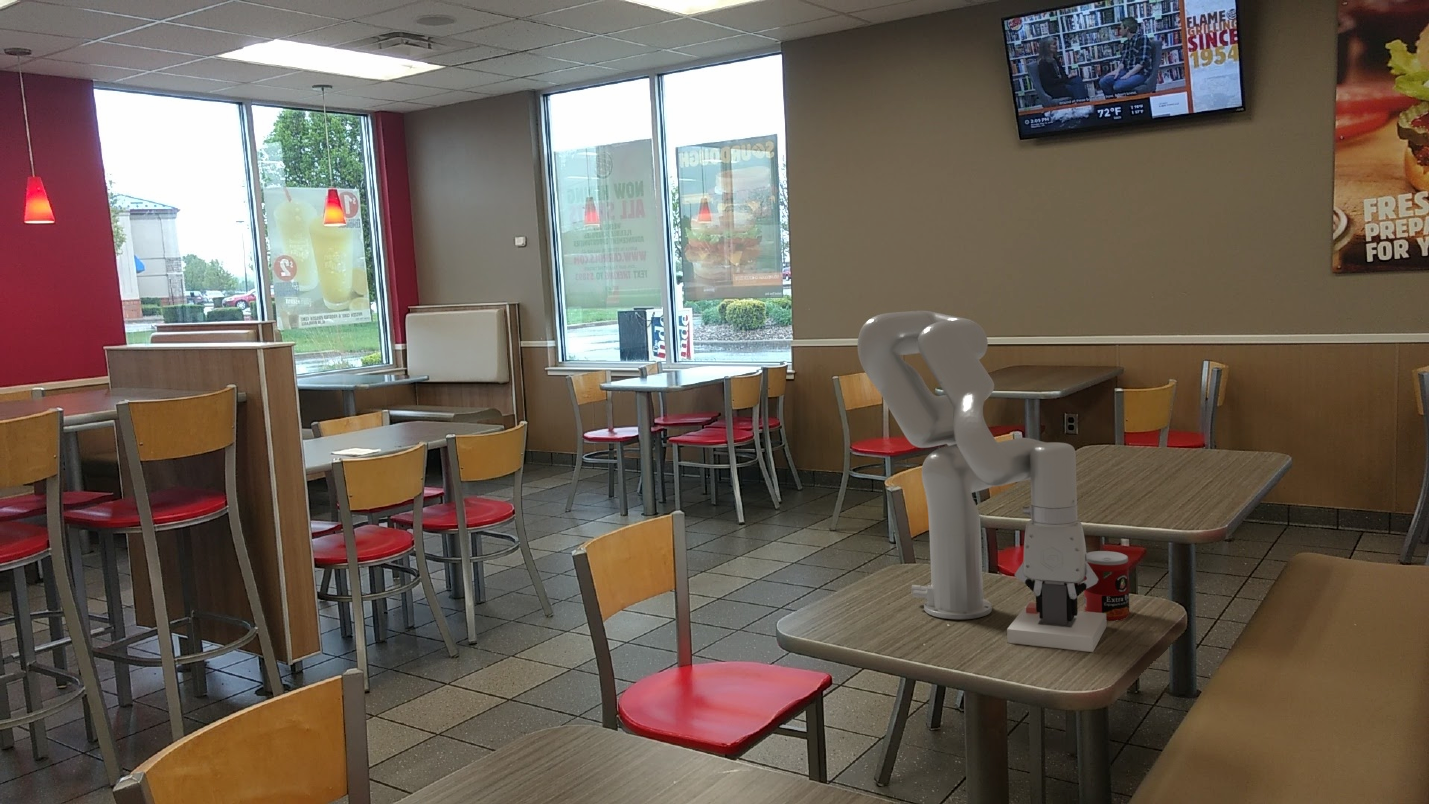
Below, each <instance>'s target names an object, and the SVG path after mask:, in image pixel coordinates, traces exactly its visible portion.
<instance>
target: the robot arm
mask: <svg viewBox="0 0 1429 804" xmlns="http://www.w3.org/2000/svg"><path fill="white" fill-rule="evenodd" d="M988 343H989V342H988V337H987V334H986V331H985V330H984V328H983V327H982V326H981V325H980V324H979V323H978V322H976V321H974V320H972V319H969V318H964V317H959V316H956V315H950V314H949V315H948V314H946V313H945V314H944V313H940V312H934V311H930V310H912V311H911V310H909V311H896V312H885V313H881V314H877V315H875V316H872V317H871V318H869V319H868V320H866V322H865V323H863V325H862V327H861V328H860V330H859V334H858V338H857V354H858V359H859V362H860V365H861V367H862V370H863V371H864V373H865V374H866V376H867V378H868V379H869V380H870V382H871V383H872V384H873V386H874V387H875V388H876V389H877V391H878V393H879V394H880V396H881V397H882V399H883V401H884V402H885V405H886V406H887V408H888V409H889V411H890V413H891V414H892V416H893V418H894V419H895V422H896V423H897V425H898V426H899V428H900V430H901V432H902V433H903V434H904V436H905V438H906V440H907V441H908V442H909V443H910V444H911V445H912V446H914V447H916V448H920V449H924V448H925V449H926V448H933V447H937V446H942V447H939V448H937V449H935V450H933V451H932V452H930V453H929V454H928V455H927V456H926V458H925V459H924V461H923V463H922V466H921V481H922V485H923V488H924V489H923V490H924V494H925V499H926V504H927V505H926V506H927V515H928V531H929V532H928V533H929V551H930V552H929V553H930V554H929V556H930V557H929V558H930V579H931V580H930V581H931V582H930V583H931V584H927V586H926V585H919V584H912V585H911V587H910V588H911V589H910V591H911V592H910V593H911V595H913V597H914V598H917V599H918V598H919V599H921V598H923V599H925V601H924V604H923V610H924V611H925V612H926V614H928V615H930V616H933V617H935V618H939V619H948V620H971V619H972V620H973V619H979V618H982V617H986V616H988V615H989V614H990V613H991V612H992V610H993V604H992V603H991V602H990V601H989V600H987V599H986V598H984V590H983V589H984V587H983V586H984V585H983V558H982V557H983V556H982V532H981V531H982V530H981V529H982V528H981V517H980V516H981V515H980V513H979V508H978V506H977V504H976V502H975V500H974V498H973V494H974V493H976V492H980V491H983V490H987V489H989V488H993V487H1002V486H1006V485H1010V484H1013V483H1020V482H1023V481H1027V480H1030V501H1031V503H1030V505H1028V506H1023V507H1022V514H1023V515H1027V516H1029V517H1030V520H1028V521H1027V522H1026V525H1025V531H1024V543H1023V559H1022V560H1023V561H1022V562H1021V564H1020V566H1019V567H1018V569H1017V570H1016V572H1014V577H1015V578H1016V579H1018V580H1019V581H1020V582H1022V583H1024V584H1025V585H1026V586H1027V588H1028V589H1029V590H1030V591H1032V593H1033V595H1034V596H1035V603H1036V612H1039V617H1040V619H1043V609H1042V583H1043V582H1044V581H1050V582H1063V583H1067V587H1068V592H1069V594H1068V599H1067V620H1068V621H1072V620H1073V618H1074V616H1077V613H1078V611H1079V610H1078V597H1079V596H1080V595H1081V594H1082V593H1084V590H1085V589H1087V588H1089V587H1091V586H1093V585H1095V584H1096V583H1097V582H1098V577H1097V576H1096V575H1095V573H1094V572H1093V570H1092V569H1091V567H1090V566H1089V564H1088V563H1087V554H1086V553H1087V547H1086V546H1087V545H1086V540H1085V534H1084V529H1083V525H1082V522H1081V521H1079V520H1078V489H1077V488H1078V487H1077V456H1076V449H1075V447H1074V446H1073V445H1071V444H1069V443H1066V442H1058V441H1057V442H1054V441H1053V442H1052V441H1051V442H1046V441H1041V440H1038V439H1034V438H1030V437H1018V438H1013V439H1007V440H1002V441H997V440H996V438H995V437H994V434H993V433H992V432H991V430H990V429H989V427H988V425H987V423H986V420H985V417H984V410H983V408H984V404H985V401H986V400H988V398H989V397H990V396H991V395H992V394H993V392H994V389H995V382H994V381H993V378H992V377H991V376H990V374H989V373H988V371H987V370H986V368H985V367H984V365H983V364H982V362H981V361H980V360H981V359H982V358H983V357H984V356H985V355H986V352H987V350H988ZM914 354H916V355H917V354H920V356H921V357H922V360H923V361H924V362H925V364H926V366H927V367H928V369H929V370H930V372H931V373H932V375H933V377H934V378H935V380H936V382H938V384H939V386H940V388H941V389H942V391H943V392H944V394H945V395H944V394H943V395H935V394H933V392H932V391H931V390H930V389H929V387H928V386H927V385H926V382H925V381H924V379H923V377H922V376H921V374H920V373H919V372H918V371H917V370H916V369H915V368H914V367H913V366H912V365H911V364H909V363H908V362H906V361H905V360H904V359H903V358H902V356H904V355H906V356H908V355H914ZM943 445H946V446H943ZM972 493H973V494H972ZM1085 576H1086V577H1087V580H1085V581H1084V577H1085ZM1078 583H1079V584H1078Z"/></svg>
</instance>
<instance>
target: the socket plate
mask: <svg viewBox="0 0 1429 804" xmlns="http://www.w3.org/2000/svg"><path fill="white" fill-rule="evenodd" d="M1106 628H1107V621H1106V613H1097V612H1086V611H1085V610H1084V611H1083V610H1078V613H1077V616H1074V618H1073V620H1072V621H1070V622H1069V623H1068V625H1067V626H1064V625H1054V624H1044V623H1043V619H1040V617H1039V612H1036V602H1029V603H1028V605H1025V606H1024V607H1023V609H1021V611H1020V612H1019V614H1018V615H1017V616H1016V617H1015V619H1013V621H1012V622H1011V623H1010V625H1008V627H1007V628H1006V634H1007V635H1006V636H1007V638H1006V639H1007V642H1006V643H1007V644H1008V643H1009V644H1018V645H1024V646H1025V645H1027V646H1028V645H1029V646H1033V647H1035V646H1036V647H1045V648H1053V649H1060V650H1061V649H1062V650H1063V649H1064V650H1070V651H1071V650H1073V651H1081V652H1090V653H1093V652H1094V650H1095V649H1096V647H1097V645H1098V644H1099V641H1100V640H1101V637H1102V636H1103V634H1104V632H1105V630H1106Z"/></svg>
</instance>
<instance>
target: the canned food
mask: <svg viewBox="0 0 1429 804" xmlns="http://www.w3.org/2000/svg"><path fill="white" fill-rule="evenodd" d="M1086 554H1087V563H1088V564H1089V566H1090V567H1091V569H1092V570H1093V572H1094V573H1095V575H1096V576H1097V577H1098V582H1097V583H1096V584H1095V585H1093V586H1091V587H1089V588H1087V589H1085V590H1084V591H1083V593H1084V594H1083V595H1084V598H1083V600H1084V611H1086V612H1097V613H1106V620H1107V621H1108V622H1114V621H1115V622H1116V620H1118V621H1122V620H1123V621H1124V620H1126V619H1127V618H1128V617H1129V614H1130V577H1129V576H1130V574H1129V573H1130V571H1129V570H1130V568H1129V556H1128V555H1126V554H1124V553H1121V552H1117V551H1109V550H1097V551H1096V550H1095V551H1090V552H1089V551H1088V552H1086ZM1085 580H1087V577H1086V576H1085V577H1084V579H1083V581H1085ZM1107 621H1106V622H1107Z"/></svg>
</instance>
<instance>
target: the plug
mask: <svg viewBox="0 0 1429 804" xmlns="http://www.w3.org/2000/svg"><path fill="white" fill-rule="evenodd" d="M1068 594H1069V592H1068V587H1067V583H1063V582H1050V581H1044V582H1043V583H1042V609H1043V623H1044V624H1054V625H1064V626H1067V625H1068V623H1069V622H1070V621H1068V620H1067V599H1068Z"/></svg>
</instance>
